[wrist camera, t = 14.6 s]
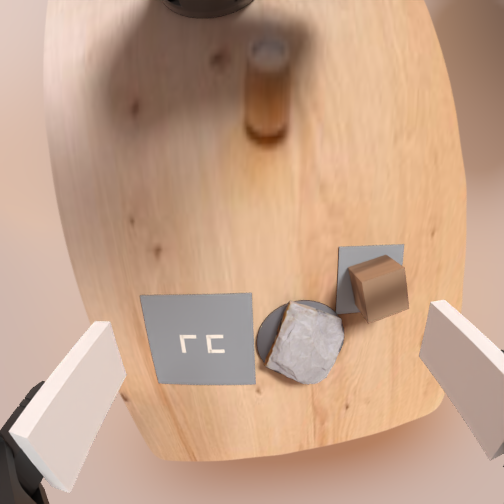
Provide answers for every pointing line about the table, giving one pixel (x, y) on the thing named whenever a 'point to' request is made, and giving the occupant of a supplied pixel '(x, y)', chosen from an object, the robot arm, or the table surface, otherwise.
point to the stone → (305, 344)
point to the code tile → (201, 338)
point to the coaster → (272, 323)
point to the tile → (353, 257)
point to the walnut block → (379, 288)
